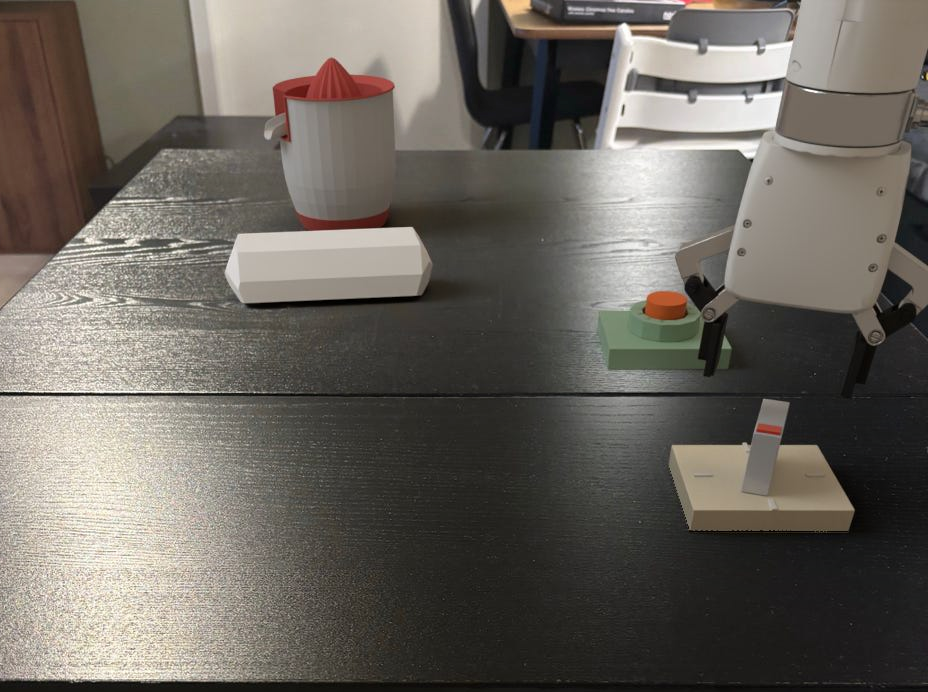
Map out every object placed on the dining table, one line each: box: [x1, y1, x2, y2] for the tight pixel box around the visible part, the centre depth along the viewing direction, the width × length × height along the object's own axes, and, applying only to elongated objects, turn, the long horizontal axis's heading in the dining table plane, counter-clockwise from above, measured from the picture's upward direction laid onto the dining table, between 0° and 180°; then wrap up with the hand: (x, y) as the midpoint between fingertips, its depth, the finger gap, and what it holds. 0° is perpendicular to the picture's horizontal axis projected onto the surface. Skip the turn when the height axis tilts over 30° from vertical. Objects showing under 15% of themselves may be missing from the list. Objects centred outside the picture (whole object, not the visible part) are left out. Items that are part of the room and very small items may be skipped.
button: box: [645, 290, 688, 320], centre depth 94 cm, size 4×4×2 cm
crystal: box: [224, 226, 434, 304], centre depth 108 cm, size 7×7×24 cm
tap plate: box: [668, 442, 856, 533], centre depth 74 cm, size 12×10×2 cm
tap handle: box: [741, 398, 791, 496], centre depth 72 cm, size 6×2×5 cm, turn 159°
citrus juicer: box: [263, 57, 397, 231], centre depth 123 cm, size 16×17×20 cm
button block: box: [596, 299, 733, 371], centre depth 96 cm, size 12×10×4 cm
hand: (777, 380), depth 68 cm, fingers open, 9 cm apart
